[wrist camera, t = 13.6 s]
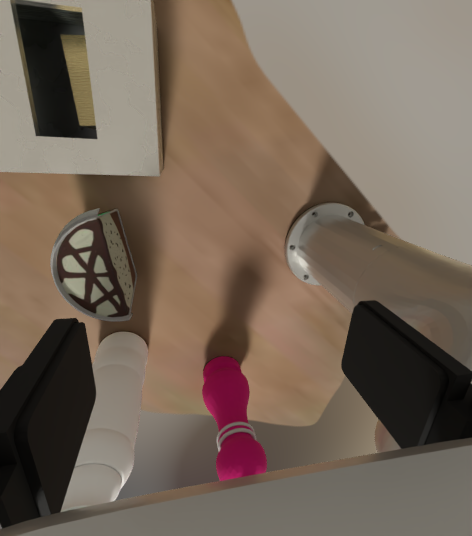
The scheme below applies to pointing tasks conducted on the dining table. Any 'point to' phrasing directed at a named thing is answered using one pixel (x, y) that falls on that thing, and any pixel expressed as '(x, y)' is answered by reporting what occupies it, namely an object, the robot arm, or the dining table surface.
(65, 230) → the half-round slice
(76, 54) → the beige rectangular block
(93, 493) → the water bottle
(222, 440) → the pepper mill
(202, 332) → the dining table surface
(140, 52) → the box
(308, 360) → the dining table surface
